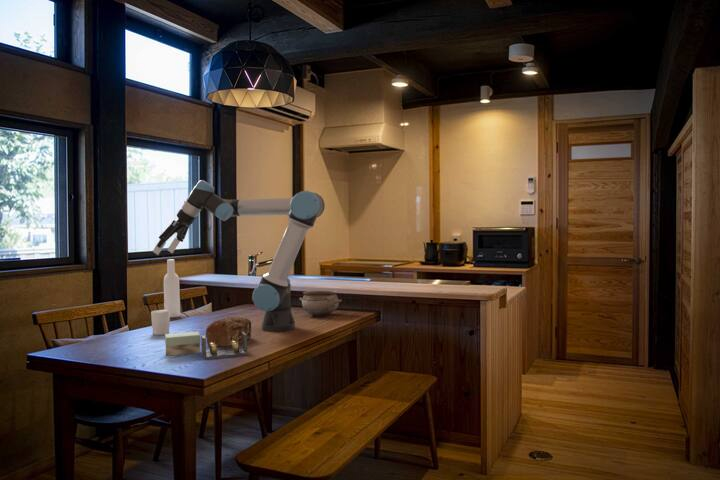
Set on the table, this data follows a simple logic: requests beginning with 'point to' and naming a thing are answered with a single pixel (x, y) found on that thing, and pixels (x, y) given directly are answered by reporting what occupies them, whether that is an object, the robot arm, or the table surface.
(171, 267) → the bottle
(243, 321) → the bread
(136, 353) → the table surface
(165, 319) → the white cup
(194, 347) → the stand
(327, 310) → the cooking pot
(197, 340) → the board
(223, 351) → the chassis
